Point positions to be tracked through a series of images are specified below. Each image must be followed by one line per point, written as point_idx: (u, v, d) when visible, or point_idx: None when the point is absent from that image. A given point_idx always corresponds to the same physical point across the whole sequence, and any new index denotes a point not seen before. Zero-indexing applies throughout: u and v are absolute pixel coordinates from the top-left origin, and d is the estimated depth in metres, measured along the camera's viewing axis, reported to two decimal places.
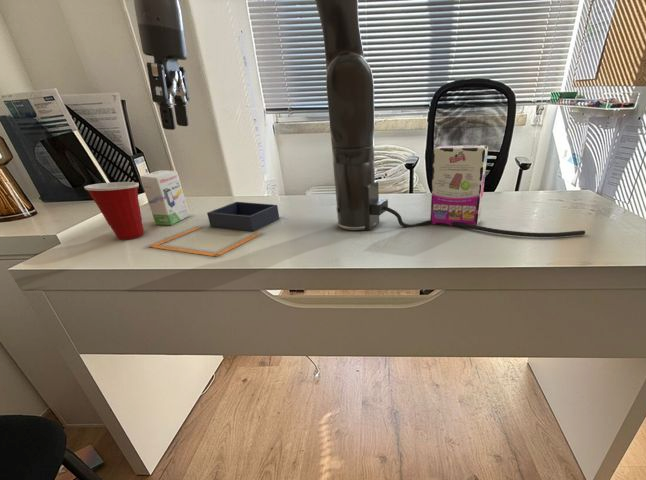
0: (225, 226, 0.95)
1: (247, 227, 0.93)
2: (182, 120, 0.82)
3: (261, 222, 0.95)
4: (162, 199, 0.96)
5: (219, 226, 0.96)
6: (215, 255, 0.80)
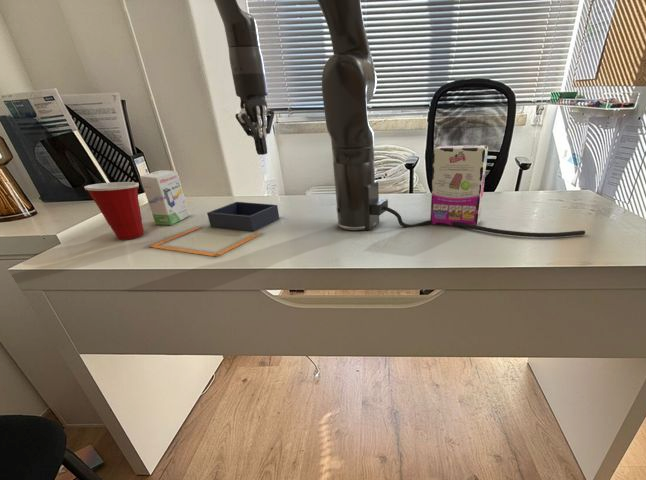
0: (225, 226, 0.95)
1: (247, 227, 0.93)
2: None
3: (261, 222, 0.95)
4: (162, 199, 0.96)
5: (219, 226, 0.96)
6: (215, 255, 0.80)
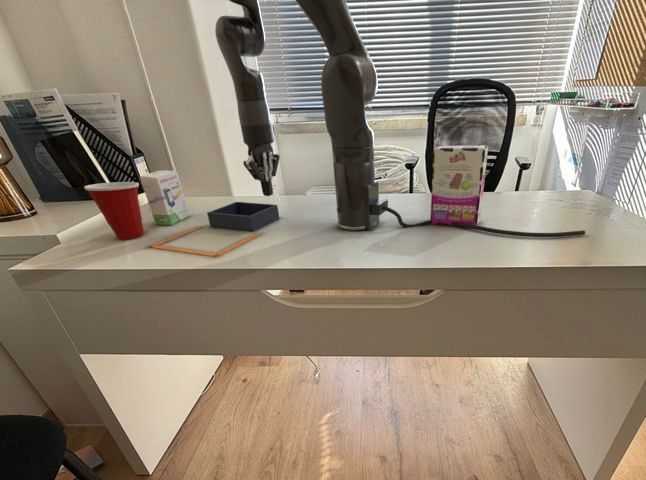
0: (225, 226, 0.95)
1: (247, 227, 0.93)
2: None
3: (261, 222, 0.95)
4: (162, 199, 0.96)
5: (219, 226, 0.96)
6: (215, 255, 0.80)
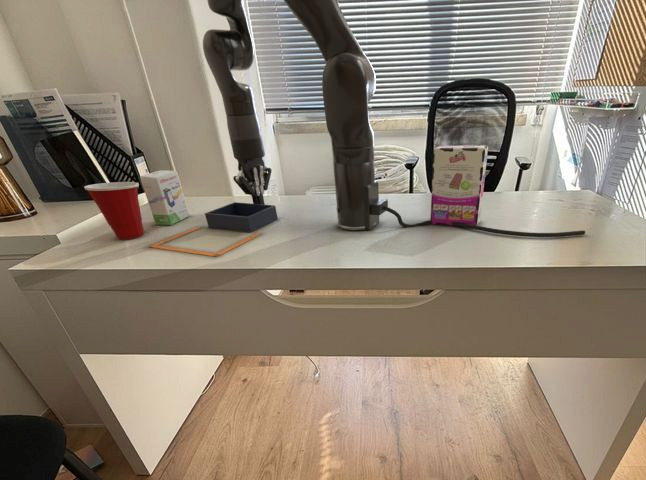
0: (223, 227, 0.95)
1: (245, 228, 0.92)
2: None
3: (259, 223, 0.94)
4: (162, 199, 0.96)
5: (217, 227, 0.96)
6: (215, 255, 0.80)
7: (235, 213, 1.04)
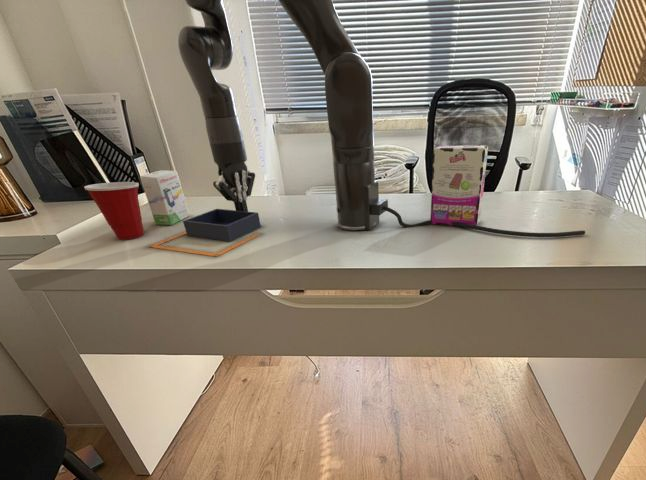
0: (202, 235, 0.90)
1: (224, 237, 0.87)
2: None
3: (240, 231, 0.89)
4: (162, 199, 0.96)
5: (196, 235, 0.91)
6: (215, 255, 0.80)
7: (217, 220, 0.99)
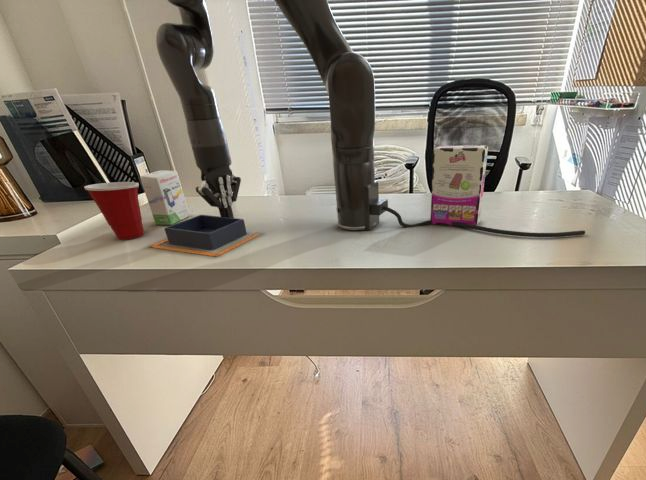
0: (184, 243, 0.86)
1: (207, 245, 0.83)
2: None
3: (223, 239, 0.85)
4: (162, 199, 0.96)
5: (178, 243, 0.87)
6: (215, 255, 0.80)
7: (202, 226, 0.94)
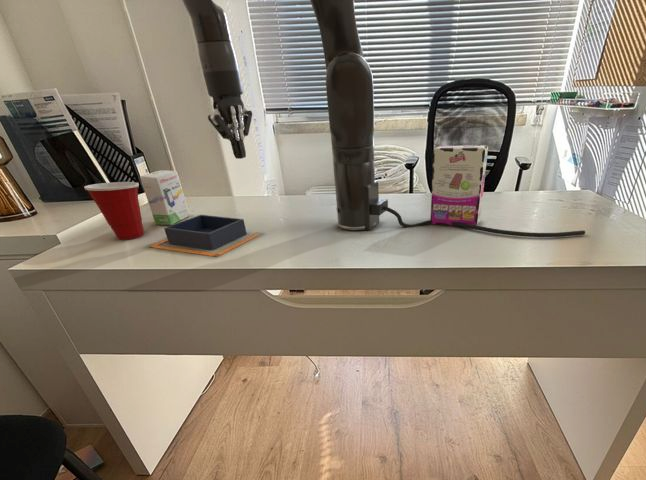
0: (184, 243, 0.86)
1: (207, 245, 0.83)
2: None
3: (223, 239, 0.85)
4: (162, 199, 0.96)
5: (177, 243, 0.87)
6: (215, 255, 0.80)
7: (201, 226, 0.94)
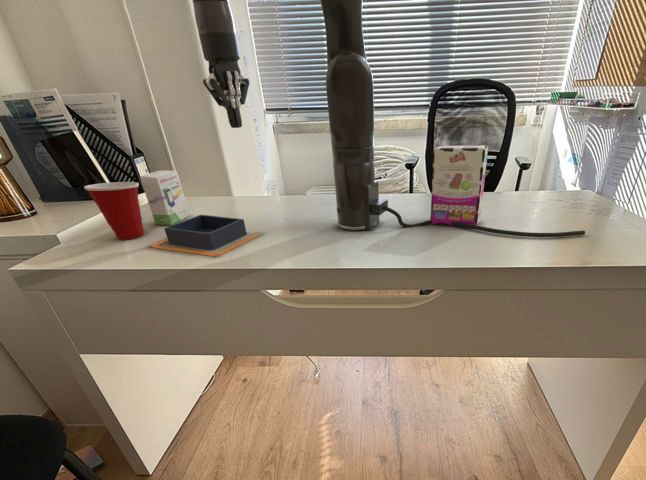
0: (184, 243, 0.86)
1: (207, 245, 0.83)
2: None
3: (223, 239, 0.85)
4: (162, 199, 0.96)
5: (177, 243, 0.87)
6: (215, 255, 0.80)
7: (201, 226, 0.94)
